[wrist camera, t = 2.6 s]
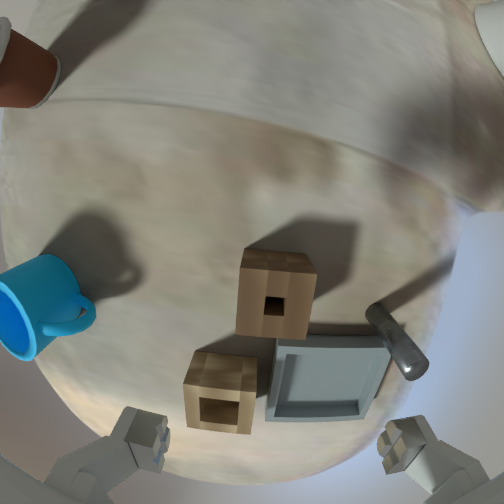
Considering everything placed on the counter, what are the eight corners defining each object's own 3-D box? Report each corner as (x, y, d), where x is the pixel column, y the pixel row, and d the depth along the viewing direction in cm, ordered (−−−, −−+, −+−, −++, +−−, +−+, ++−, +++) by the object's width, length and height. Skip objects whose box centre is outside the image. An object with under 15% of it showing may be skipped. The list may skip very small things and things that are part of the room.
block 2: (305, 253, 23) (317, 274, 18) (297, 309, 24) (305, 339, 19) (244, 248, 23) (240, 267, 18) (240, 304, 24) (235, 334, 19)
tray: (386, 335, 25) (394, 347, 22) (358, 406, 27) (363, 419, 25) (277, 332, 25) (278, 345, 23) (264, 407, 27) (265, 421, 25)
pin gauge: (386, 303, 24) (433, 356, 15) (381, 322, 24) (422, 379, 16) (368, 302, 24) (410, 358, 15) (363, 321, 24) (400, 382, 16)
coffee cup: (6, 102, 19) (-66, 94, 7) (47, 36, 17) (-20, 6, 6) (38, 134, 20) (-51, 130, 9) (85, 58, 18) (5, 17, 7)
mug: (37, 315, 26) (-4, 347, 18) (26, 250, 24) (-24, 272, 16) (116, 337, 26) (79, 384, 18) (108, 262, 24) (56, 296, 16)
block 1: (257, 357, 25) (256, 392, 21) (252, 400, 27) (250, 434, 22) (194, 350, 26) (183, 383, 21) (196, 393, 27) (187, 427, 22)
